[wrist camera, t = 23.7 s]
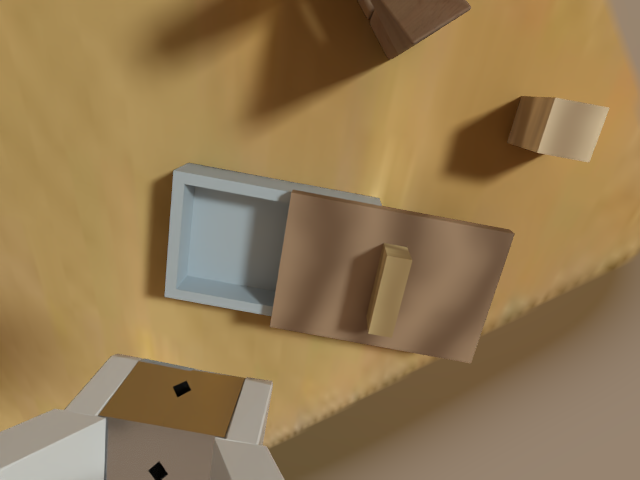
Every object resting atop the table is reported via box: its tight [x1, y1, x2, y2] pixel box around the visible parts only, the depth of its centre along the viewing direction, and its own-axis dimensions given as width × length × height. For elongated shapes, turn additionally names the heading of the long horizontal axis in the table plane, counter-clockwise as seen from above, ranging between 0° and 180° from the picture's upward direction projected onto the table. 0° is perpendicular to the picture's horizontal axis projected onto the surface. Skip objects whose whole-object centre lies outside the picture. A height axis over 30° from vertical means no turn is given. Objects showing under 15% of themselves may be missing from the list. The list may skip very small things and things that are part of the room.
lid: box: [270, 190, 514, 363], centre depth 38 cm, size 19×13×4 cm
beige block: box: [507, 96, 609, 162], centre depth 36 cm, size 4×4×6 cm
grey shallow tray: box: [164, 163, 382, 316], centre depth 42 cm, size 18×12×4 cm, turn 80°
